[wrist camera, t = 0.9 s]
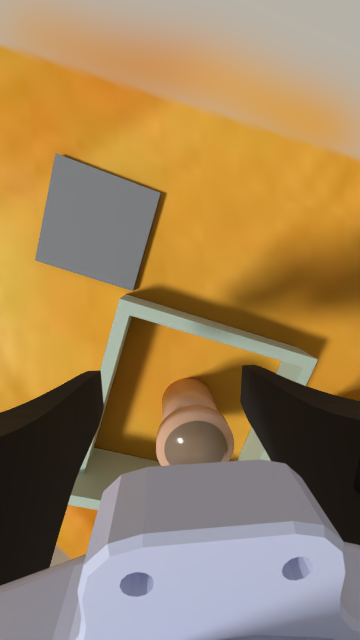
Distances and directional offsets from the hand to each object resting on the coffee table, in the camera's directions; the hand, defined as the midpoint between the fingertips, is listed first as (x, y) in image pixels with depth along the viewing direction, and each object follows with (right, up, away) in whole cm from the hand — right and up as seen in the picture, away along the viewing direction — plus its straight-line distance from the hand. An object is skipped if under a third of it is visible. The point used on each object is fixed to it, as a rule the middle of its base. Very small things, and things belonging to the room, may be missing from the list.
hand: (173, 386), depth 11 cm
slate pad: (-6, +11, +7) cm, 14 cm away
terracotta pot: (+1, -5, +11) cm, 12 cm away
